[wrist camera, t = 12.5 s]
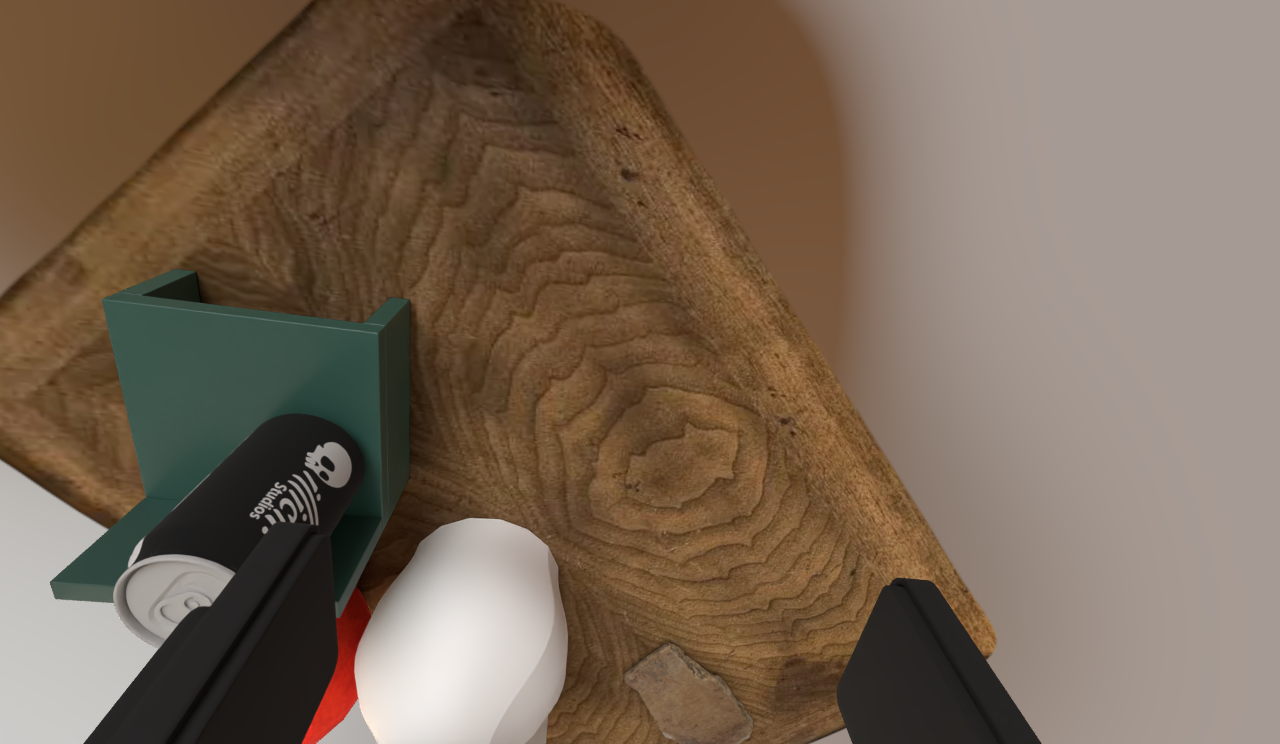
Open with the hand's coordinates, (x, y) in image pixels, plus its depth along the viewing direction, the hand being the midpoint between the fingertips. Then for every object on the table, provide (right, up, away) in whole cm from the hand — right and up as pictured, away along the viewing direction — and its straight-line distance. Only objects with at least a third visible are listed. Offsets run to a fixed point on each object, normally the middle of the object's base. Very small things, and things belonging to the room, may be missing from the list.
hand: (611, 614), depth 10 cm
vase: (-12, -12, +38) cm, 42 cm away
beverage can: (-19, -1, +26) cm, 32 cm away
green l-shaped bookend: (-22, +3, +30) cm, 38 cm away
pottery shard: (+5, -27, +46) cm, 54 cm away
